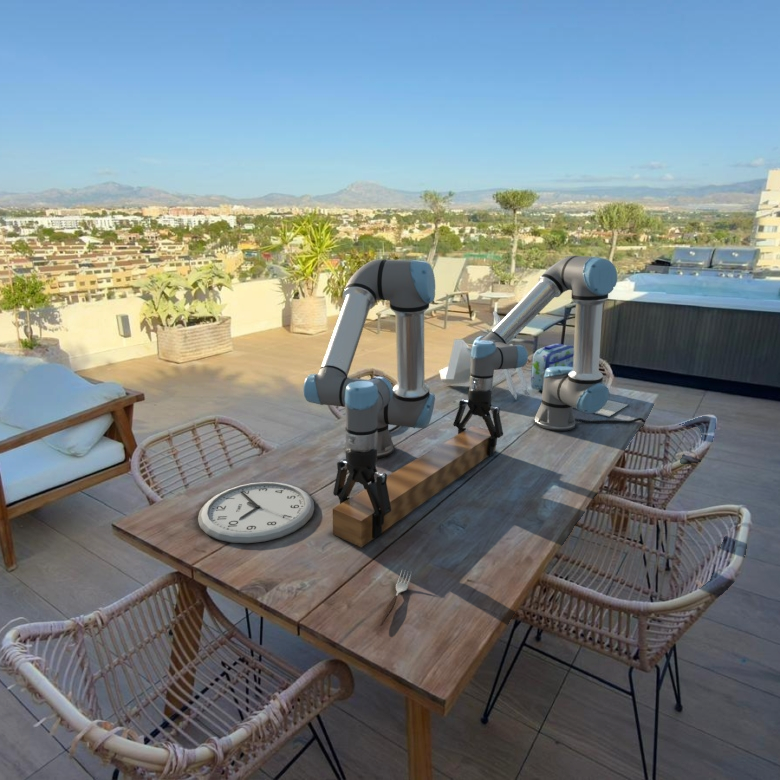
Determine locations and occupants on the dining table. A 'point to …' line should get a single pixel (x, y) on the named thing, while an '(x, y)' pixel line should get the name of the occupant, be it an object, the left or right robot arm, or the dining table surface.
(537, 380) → the lunch box
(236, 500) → the wall clock
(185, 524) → the dining table surface
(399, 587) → the fork
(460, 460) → the wide beam
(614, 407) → the invitation card
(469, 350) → the white plastic object
